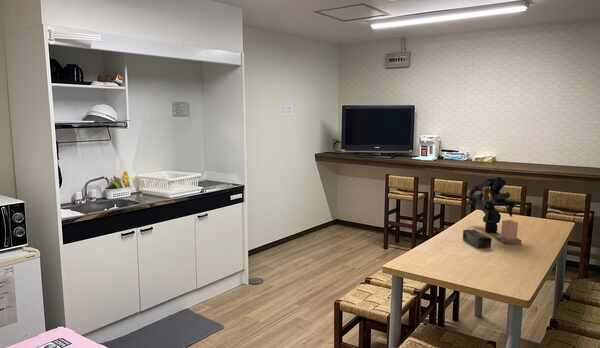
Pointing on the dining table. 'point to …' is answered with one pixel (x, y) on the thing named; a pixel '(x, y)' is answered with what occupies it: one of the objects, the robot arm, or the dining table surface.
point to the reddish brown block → (509, 229)
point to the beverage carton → (477, 238)
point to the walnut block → (505, 241)
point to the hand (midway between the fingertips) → (504, 216)
